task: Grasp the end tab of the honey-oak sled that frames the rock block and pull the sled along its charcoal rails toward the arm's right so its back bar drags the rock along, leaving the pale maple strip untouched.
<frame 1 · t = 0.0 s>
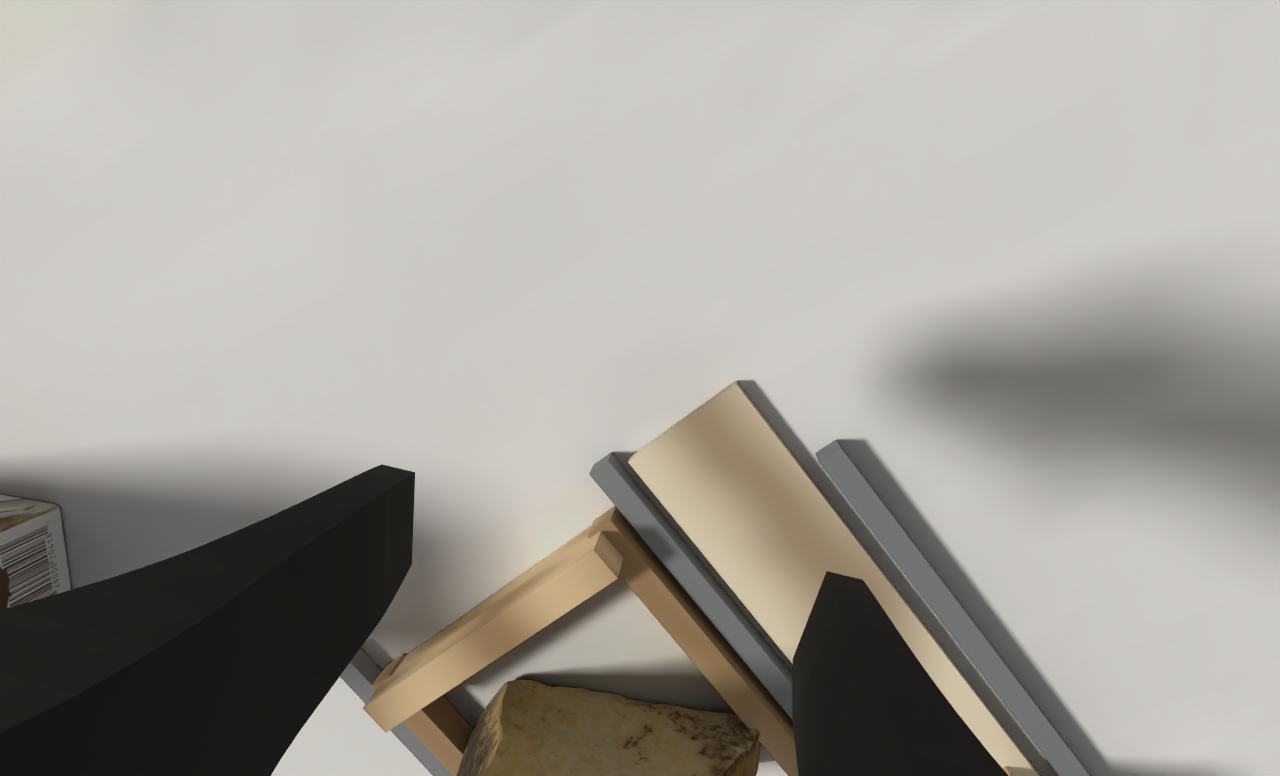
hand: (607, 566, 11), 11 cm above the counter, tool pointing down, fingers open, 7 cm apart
maple strip: (869, 695, 19), point 3 cm above the counter, slide at 0.0 cm
rock: (617, 727, 25), on the counter, touching oak sled
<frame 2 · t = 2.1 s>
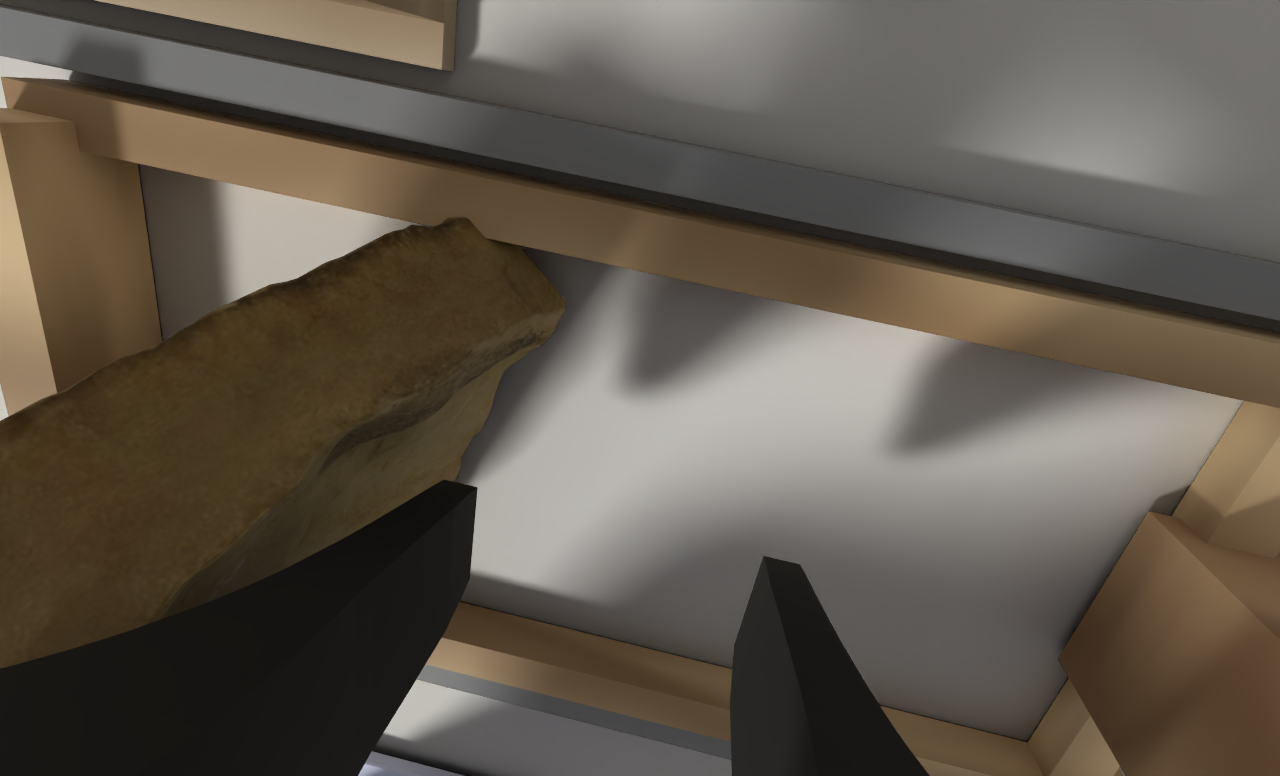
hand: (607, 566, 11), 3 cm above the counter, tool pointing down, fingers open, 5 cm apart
oak sled: (618, 569, 11), point 3 cm above the counter, slide at 11.3 cm, touching rock
rails: (391, 419, 15), on the counter
rock: (399, 422, 15), on the counter, touching gripper, oak sled
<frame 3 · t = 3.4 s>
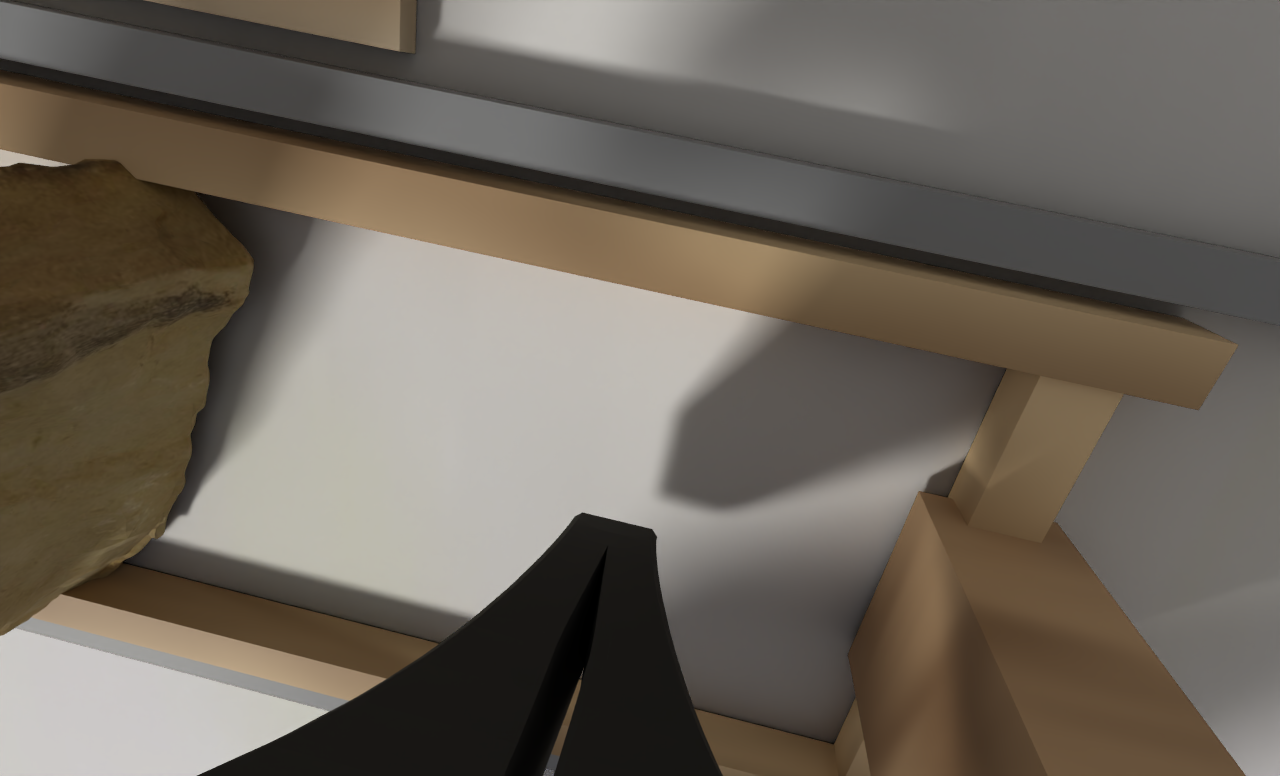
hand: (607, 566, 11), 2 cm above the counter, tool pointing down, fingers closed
oak sled: (294, 552, 10), point 3 cm above the counter, slide at 6.2 cm, touching rock
rails: (356, 446, 13), on the counter
rock: (131, 399, 13), on the counter, touching oak sled
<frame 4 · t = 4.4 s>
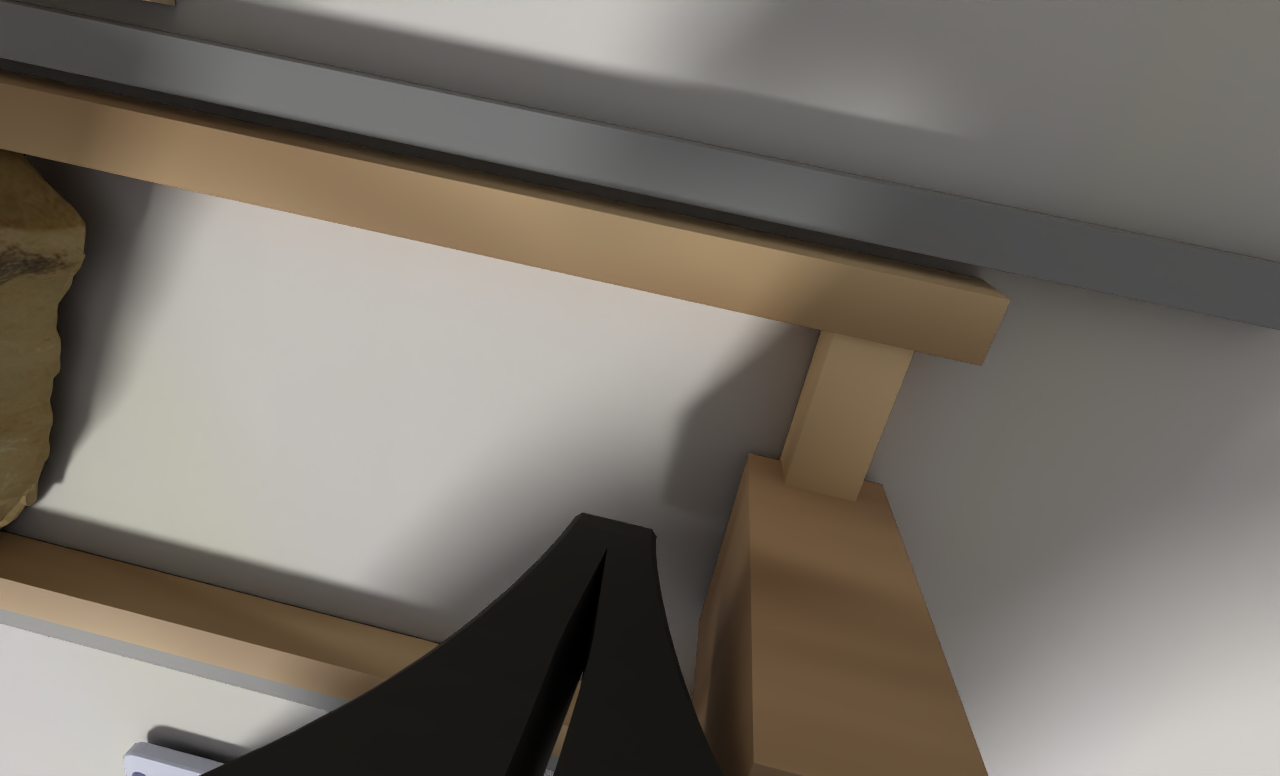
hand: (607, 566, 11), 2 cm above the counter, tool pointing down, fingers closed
oak sled: (115, 507, 10), point 3 cm above the counter, slide at 7.2 cm, touching rock, gripper
rails: (172, 402, 13), on the counter
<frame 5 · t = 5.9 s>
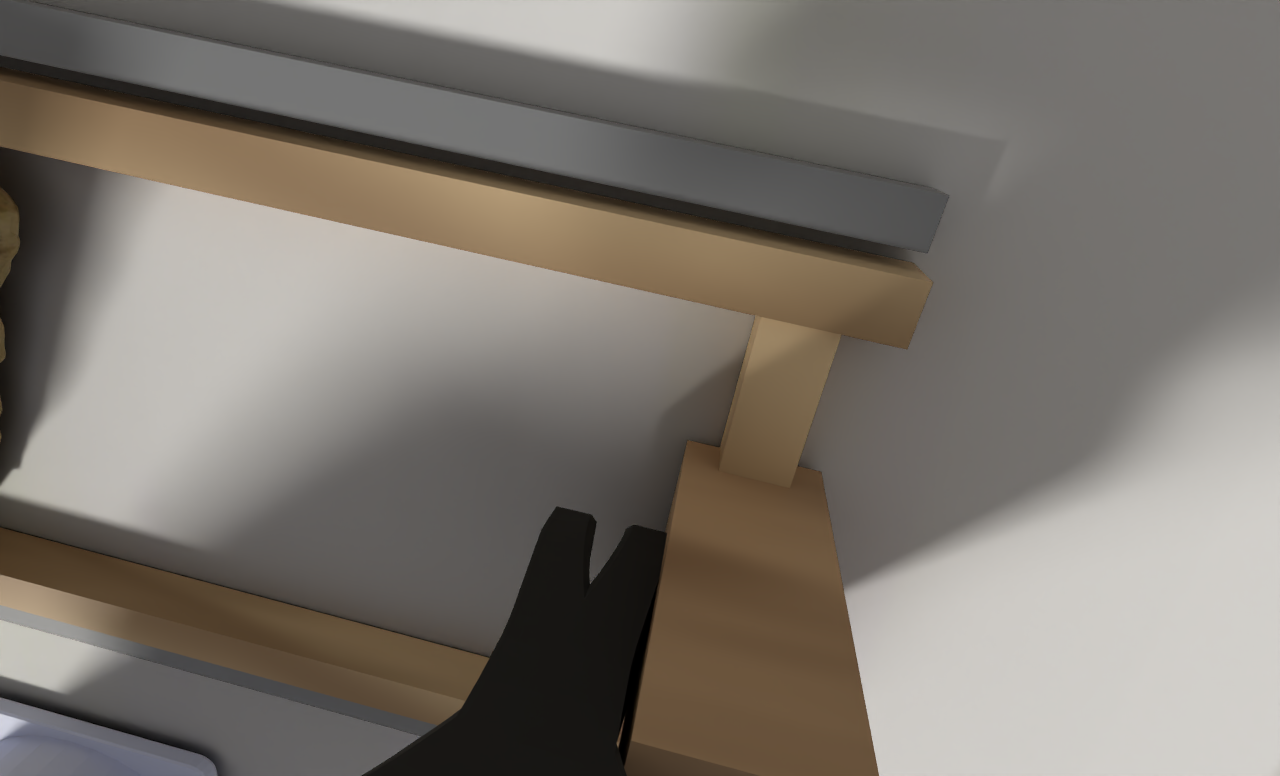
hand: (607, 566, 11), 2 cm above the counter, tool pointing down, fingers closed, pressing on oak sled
oak sled: (48, 489, 10), point 3 cm above the counter, slide at 11.6 cm, touching rock, gripper
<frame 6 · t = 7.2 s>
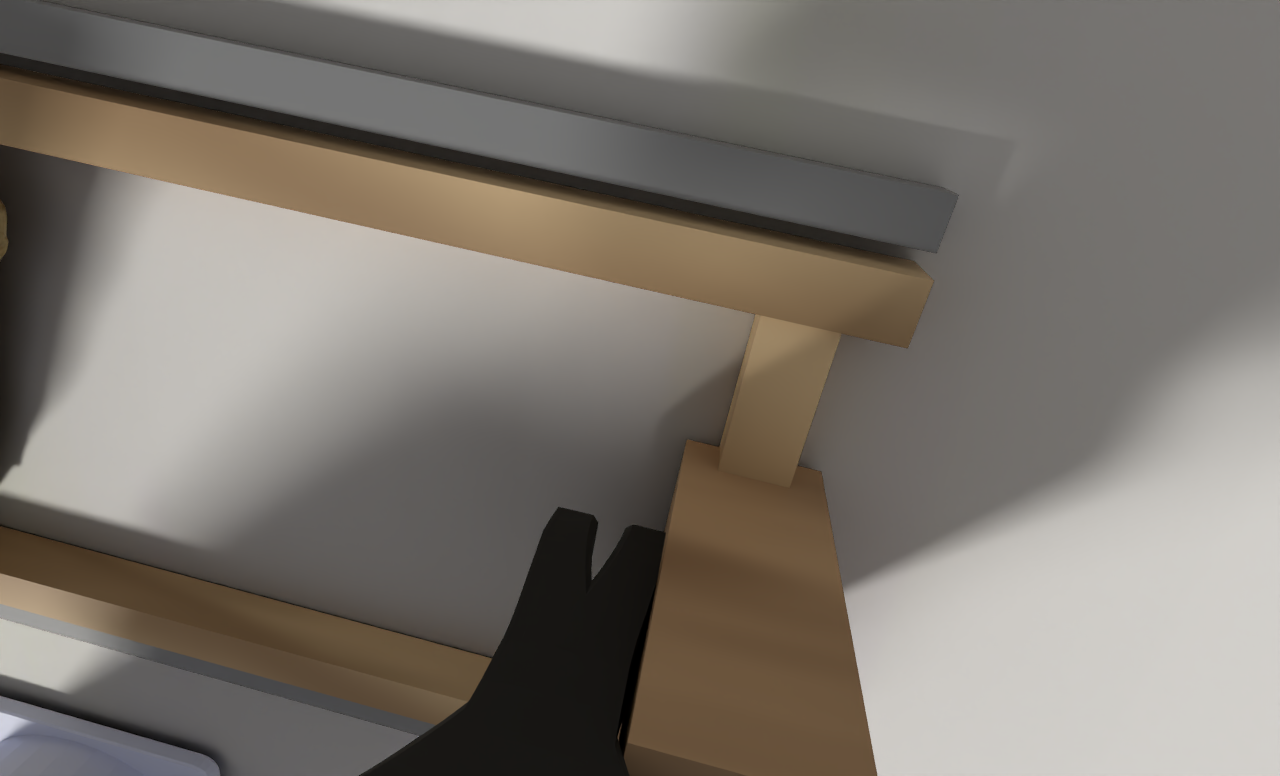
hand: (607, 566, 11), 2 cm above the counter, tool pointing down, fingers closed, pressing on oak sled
oak sled: (45, 488, 10), point 3 cm above the counter, slide at 11.5 cm, touching rock, gripper
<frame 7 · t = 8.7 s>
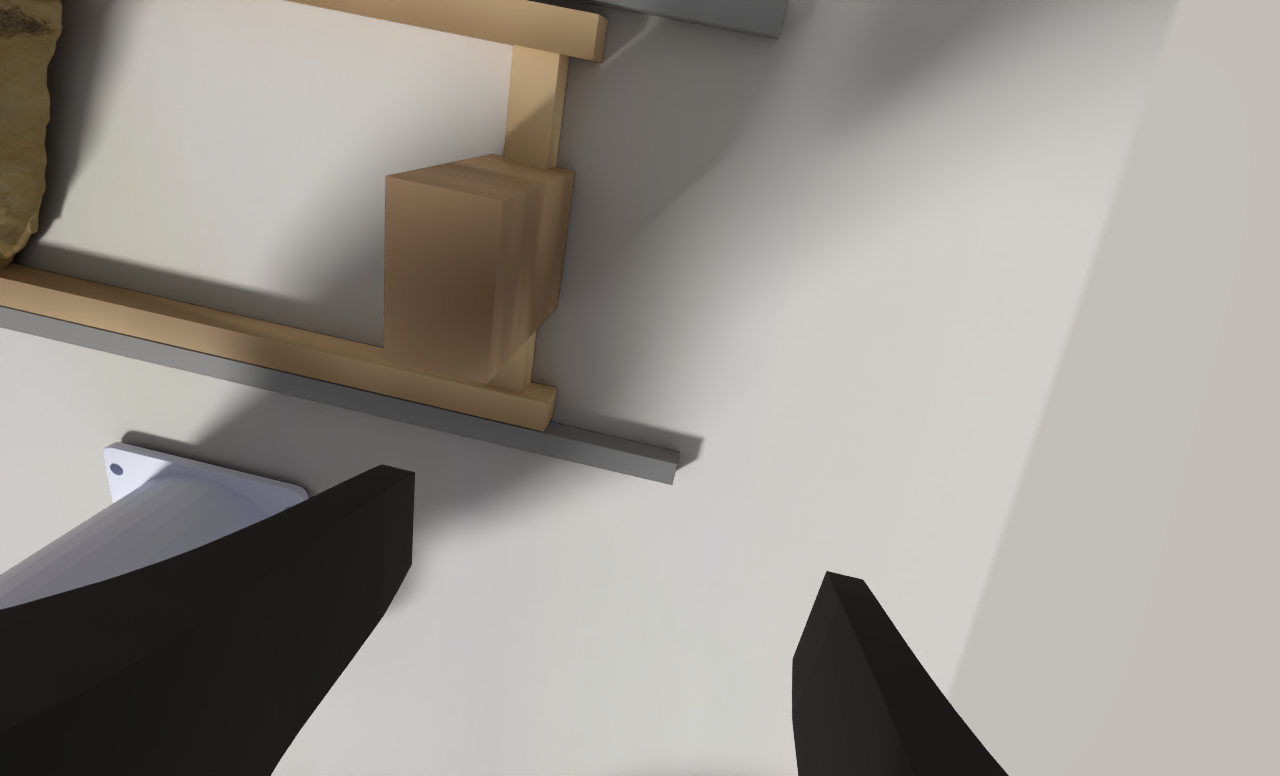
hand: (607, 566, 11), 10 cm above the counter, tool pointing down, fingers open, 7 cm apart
oak sled: (88, 166, 17), point 3 cm above the counter, slide at 7.2 cm, touching rock
rails: (130, 146, 20), on the counter
rock: (7, 126, 20), touching oak sled
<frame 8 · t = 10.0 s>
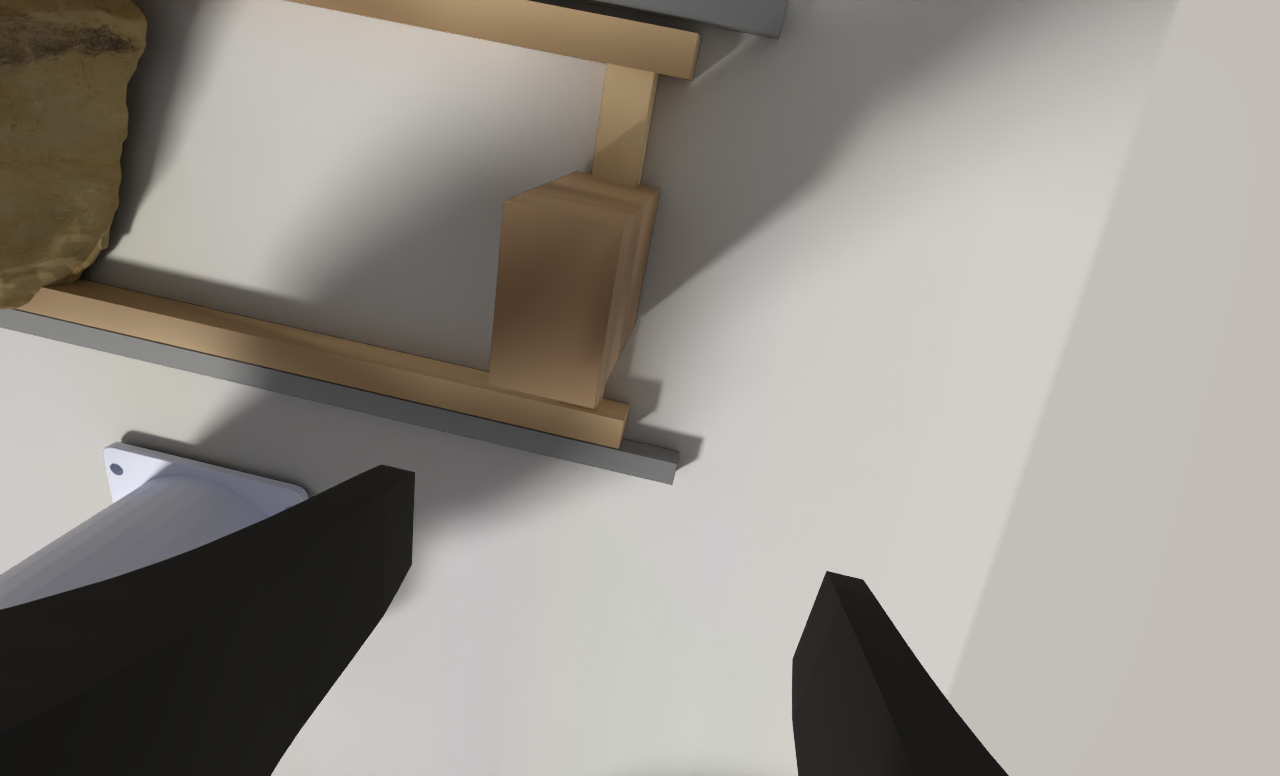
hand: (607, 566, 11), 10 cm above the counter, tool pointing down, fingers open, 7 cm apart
oak sled: (174, 185, 17), point 3 cm above the counter, slide at 9.6 cm, touching rock
rails: (130, 146, 20), on the counter
rock: (81, 142, 20), touching oak sled
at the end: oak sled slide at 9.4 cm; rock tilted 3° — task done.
